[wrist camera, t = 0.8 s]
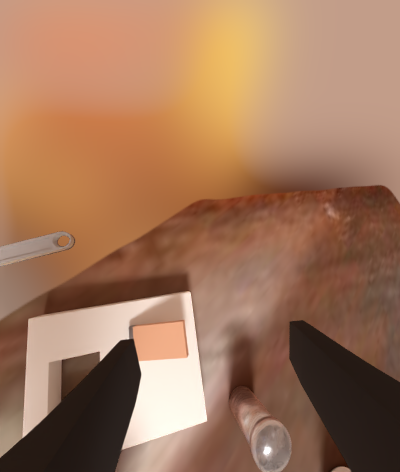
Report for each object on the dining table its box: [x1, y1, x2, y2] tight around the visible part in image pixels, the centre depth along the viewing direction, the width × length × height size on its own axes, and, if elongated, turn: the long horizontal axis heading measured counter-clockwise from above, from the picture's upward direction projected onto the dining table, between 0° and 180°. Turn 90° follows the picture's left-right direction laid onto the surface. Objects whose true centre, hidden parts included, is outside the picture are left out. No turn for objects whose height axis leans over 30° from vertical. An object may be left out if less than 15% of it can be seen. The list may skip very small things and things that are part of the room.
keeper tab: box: [129, 320, 189, 361], centre depth 23 cm, size 4×8×1 cm, turn 99°
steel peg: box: [229, 386, 291, 472], centre depth 24 cm, size 5×5×8 cm
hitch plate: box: [23, 291, 207, 450], centre depth 24 cm, size 16×20×3 cm
